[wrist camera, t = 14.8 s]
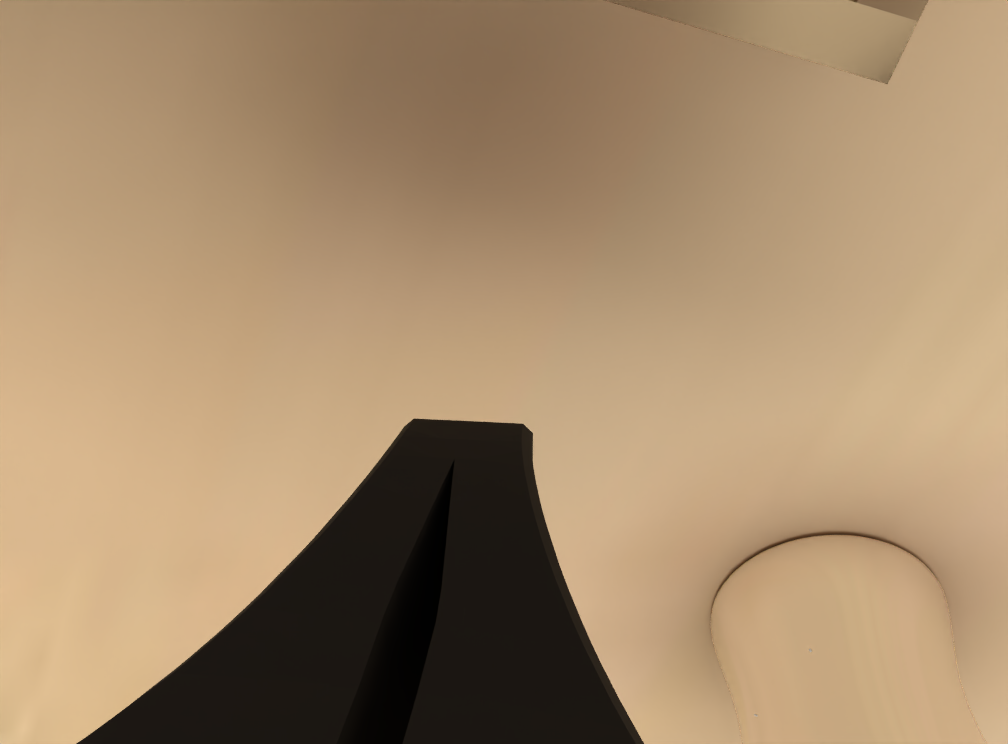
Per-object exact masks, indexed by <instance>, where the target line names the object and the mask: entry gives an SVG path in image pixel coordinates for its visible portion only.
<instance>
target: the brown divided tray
mask: <svg viewBox="0 0 1008 744" xmlns="http://www.w3.org/2000/svg"><path fill="white" fill-rule="evenodd" d="M605 1H609V2H612V3H615V4H619V5H622V6H625V7H629V8H632V9H635V10H639V11H642V12H646V13H649V14H652V15H656V16H659V17H662V18H666V19H669V20H673V21H676V22H679V23H683V24H686V25H689V26H693V27H696V28H699V29H703V30H706V31H710V32H713V33H716V34H720V35H723V36H726V37H730V38H733V39H737V40H740V41H743V42H747V43H750V44H753V45H757V46H760V47H763V48H767V49H770V50H774V51H777V52H780V53H784V54H787V55H790V56H794V57H797V58H800V59H804V60H807V61H811V62H814V63H817V64H821V65H824V66H827V67H831V68H834V69H838V70H841V71H844V72H848V73H851V74H854V75H858V76H861V77H864V78H868V79H871V80H875V81H878V82H881V83H885V84H888V82H889V80H890V78H891V76H892V74H893V72H894V70H895V68H896V65H897V63H898V61H899V59H900V57H901V55H902V53H903V51H904V49H905V47H906V45H907V43H908V41H909V39H910V37H911V35H912V33H913V31H914V28H915V26H916V24H917V22H918V20H919V18H920V16H921V14H922V12H923V10H924V8H925V6H926V4H927V2H928V0H605Z"/></svg>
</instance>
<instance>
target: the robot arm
mask: <svg viewBox="0 0 1008 744" xmlns="http://www.w3.org/2000/svg"><path fill="white" fill-rule="evenodd" d="M77 744H644V743H643V741H642V739H641V738H640V736H639V734H638V732H637V730H636V729H635V727H634V725H633V723H632V721H631V720H630V718H629V716H628V714H627V712H626V711H625V709H624V707H623V705H622V703H621V702H620V700H619V698H618V696H617V694H616V692H615V690H614V688H613V686H612V684H611V682H610V680H609V678H608V676H607V674H606V672H605V670H604V669H603V667H602V665H601V663H600V661H599V658H598V656H597V654H596V652H595V650H594V648H593V646H592V644H591V641H590V639H589V637H588V635H587V632H586V630H585V628H584V626H583V623H582V621H581V619H580V616H579V614H578V611H577V609H576V607H575V604H574V602H573V599H572V597H571V594H570V592H569V590H568V587H567V584H566V582H565V579H564V576H563V574H562V571H561V568H560V566H559V563H558V560H557V556H556V553H555V550H554V547H553V544H552V541H551V538H550V535H549V532H548V529H547V525H546V522H545V519H544V515H543V511H542V508H541V504H540V499H539V495H538V490H537V485H536V481H535V475H534V469H533V433H532V432H531V431H530V430H529V429H528V428H527V427H526V426H525V425H524V424H515V423H494V422H473V421H452V420H430V419H413V420H412V421H411V422H409V423H408V424H407V425H406V426H405V427H404V428H403V429H402V431H401V432H400V433H399V435H398V436H397V438H396V439H395V440H394V442H393V443H392V444H391V446H390V447H389V448H388V450H387V451H386V452H385V454H384V455H383V456H382V457H381V459H380V460H379V461H378V463H377V464H376V465H375V467H374V468H373V469H372V470H371V472H370V473H369V474H368V475H367V477H366V478H365V479H364V480H363V481H362V483H361V484H360V485H359V486H358V488H357V489H356V490H355V491H354V493H353V494H352V495H351V496H350V497H349V498H348V500H347V501H346V502H345V503H344V504H343V505H342V507H341V508H340V509H339V510H338V511H337V512H336V513H335V515H334V516H333V517H332V518H331V519H330V520H329V522H328V523H327V524H326V525H325V526H324V527H323V528H322V530H321V531H320V532H319V533H318V534H317V535H316V536H315V538H314V539H313V540H312V541H311V542H310V543H309V544H308V545H307V546H306V547H305V548H304V549H303V550H302V551H301V552H300V554H299V555H298V556H297V557H296V558H295V559H294V560H293V561H292V562H291V563H290V564H289V565H288V566H287V567H286V568H285V569H284V570H283V571H282V572H281V573H280V574H279V575H278V576H277V577H276V578H275V579H274V580H273V581H272V582H271V583H270V584H269V585H268V586H267V587H266V588H265V589H264V590H263V591H262V592H261V593H260V594H259V595H258V596H257V597H256V598H255V599H254V600H253V601H252V602H251V603H250V604H249V605H248V606H247V607H246V608H245V609H244V610H243V611H241V612H240V613H239V614H238V615H237V616H236V617H235V618H234V619H233V620H232V621H231V622H230V623H229V624H227V625H226V626H225V627H224V628H223V629H222V630H221V631H220V632H219V633H217V634H216V635H215V636H214V637H213V638H212V639H210V640H209V641H208V642H207V643H206V644H205V645H203V646H202V647H201V648H200V649H199V650H198V651H197V652H195V653H194V654H193V655H192V656H191V657H190V658H188V659H187V660H186V661H185V662H184V663H182V664H181V665H180V666H179V667H178V668H176V669H175V670H174V671H172V672H171V673H170V674H169V675H167V676H166V677H165V678H164V679H162V680H161V681H160V682H158V683H157V684H156V685H155V686H153V687H152V688H151V689H149V690H148V691H147V692H146V693H144V694H143V695H142V696H141V697H139V698H138V699H137V700H135V701H134V702H133V703H132V704H130V705H129V706H128V707H126V708H125V709H124V710H122V711H121V712H120V713H118V714H117V715H116V716H114V717H113V718H112V719H110V720H109V721H108V722H106V723H105V724H104V725H102V726H101V727H100V728H98V729H97V730H95V731H94V732H93V733H91V734H90V735H88V736H87V737H86V738H84V739H83V740H81V741H80V742H78V743H77Z"/></svg>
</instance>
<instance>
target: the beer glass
mask: <svg viewBox="0 0 1008 744" xmlns="http://www.w3.org/2000/svg"><path fill="white" fill-rule="evenodd" d="M711 635H712V640H713V645H714V649H715V652H716V655H717V658H718V661H719V664H720V667H721V669H722V672H723V675H724V678H725V680H726V683H727V686H728V689H729V691H730V694H731V697H732V700H733V703H734V707H735V710H736V714H737V717H738V723H739V729H740V734H741V742H742V744H987V742H986V740H985V739H984V737H983V735H982V733H981V731H980V729H979V727H978V724H977V722H976V720H975V718H974V716H973V713H972V711H971V709H970V707H969V705H968V702H967V699H966V695H965V692H964V689H963V686H962V683H961V680H960V675H959V671H958V666H957V660H956V653H955V646H954V639H953V631H952V625H951V618H950V613H949V608H948V604H947V600H946V597H945V594H944V591H943V589H942V587H941V585H940V583H939V582H938V580H937V579H936V577H935V576H934V575H933V573H932V572H931V571H930V570H929V569H928V567H927V566H926V565H925V564H924V563H922V562H921V561H920V560H919V559H917V558H916V557H915V556H913V555H912V554H910V553H908V552H907V551H905V550H903V549H901V548H899V547H897V546H894V545H892V544H889V543H887V542H883V541H880V540H876V539H872V538H867V537H861V536H853V535H820V536H812V537H806V538H801V539H796V540H792V541H789V542H786V543H783V544H780V545H777V546H775V547H772V548H770V549H768V550H765V551H763V552H761V553H760V554H758V555H756V556H754V557H753V558H751V559H750V560H748V561H747V562H745V563H744V564H743V565H741V566H740V567H739V568H738V569H737V570H735V571H734V572H733V573H732V574H731V575H730V577H729V578H728V579H727V580H726V581H725V583H724V584H723V585H722V587H721V588H720V590H719V592H718V594H717V596H716V598H715V601H714V604H713V607H712V612H711Z"/></svg>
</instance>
